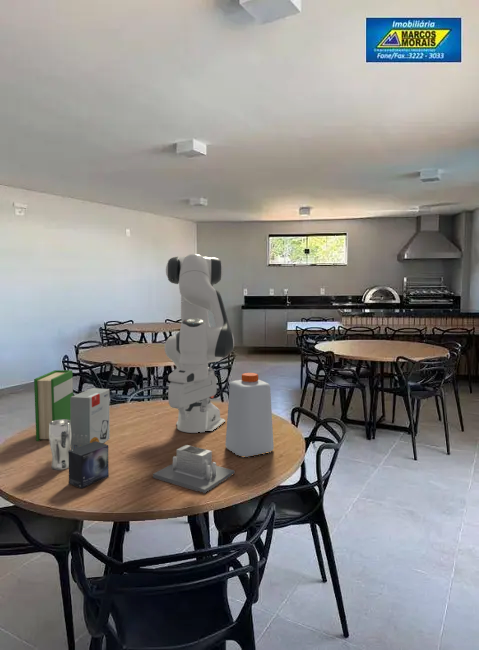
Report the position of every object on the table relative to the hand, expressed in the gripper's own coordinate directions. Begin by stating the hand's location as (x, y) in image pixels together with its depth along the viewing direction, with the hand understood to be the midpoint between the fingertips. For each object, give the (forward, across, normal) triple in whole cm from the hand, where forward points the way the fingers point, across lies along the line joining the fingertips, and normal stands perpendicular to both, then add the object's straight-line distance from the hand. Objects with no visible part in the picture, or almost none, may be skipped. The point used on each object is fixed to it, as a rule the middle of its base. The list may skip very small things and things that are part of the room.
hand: (194, 415), depth 142 cm
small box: (+20, +20, -25) cm, 38 cm away
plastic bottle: (+20, -28, +3) cm, 35 cm away
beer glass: (+20, +18, -41) cm, 49 cm away
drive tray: (+19, 0, 0) cm, 19 cm away
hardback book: (+20, -2, -71) cm, 74 cm away
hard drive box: (+20, -1, -49) cm, 53 cm away
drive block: (+18, 0, 0) cm, 18 cm away
